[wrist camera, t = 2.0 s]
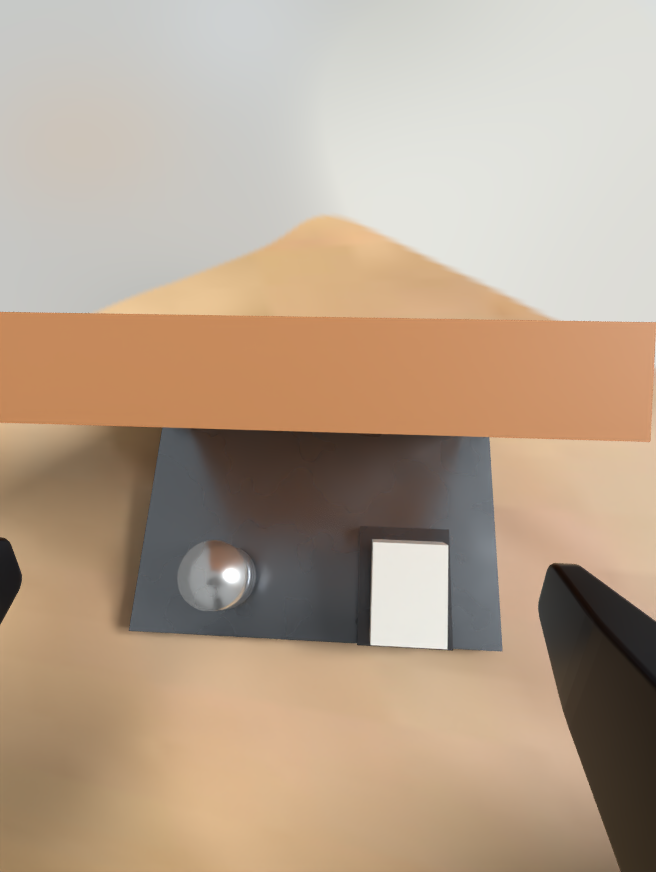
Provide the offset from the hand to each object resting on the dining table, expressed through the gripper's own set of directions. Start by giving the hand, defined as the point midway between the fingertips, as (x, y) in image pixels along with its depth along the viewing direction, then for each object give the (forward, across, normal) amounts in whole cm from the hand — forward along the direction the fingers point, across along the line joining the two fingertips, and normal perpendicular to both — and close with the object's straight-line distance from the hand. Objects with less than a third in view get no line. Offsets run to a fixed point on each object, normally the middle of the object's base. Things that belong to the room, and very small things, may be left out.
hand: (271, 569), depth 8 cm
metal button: (+7, +3, +7) cm, 10 cm away
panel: (+10, 0, +5) cm, 12 cm away
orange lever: (+12, 0, +2) cm, 12 cm away
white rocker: (+7, -3, +6) cm, 10 cm away
